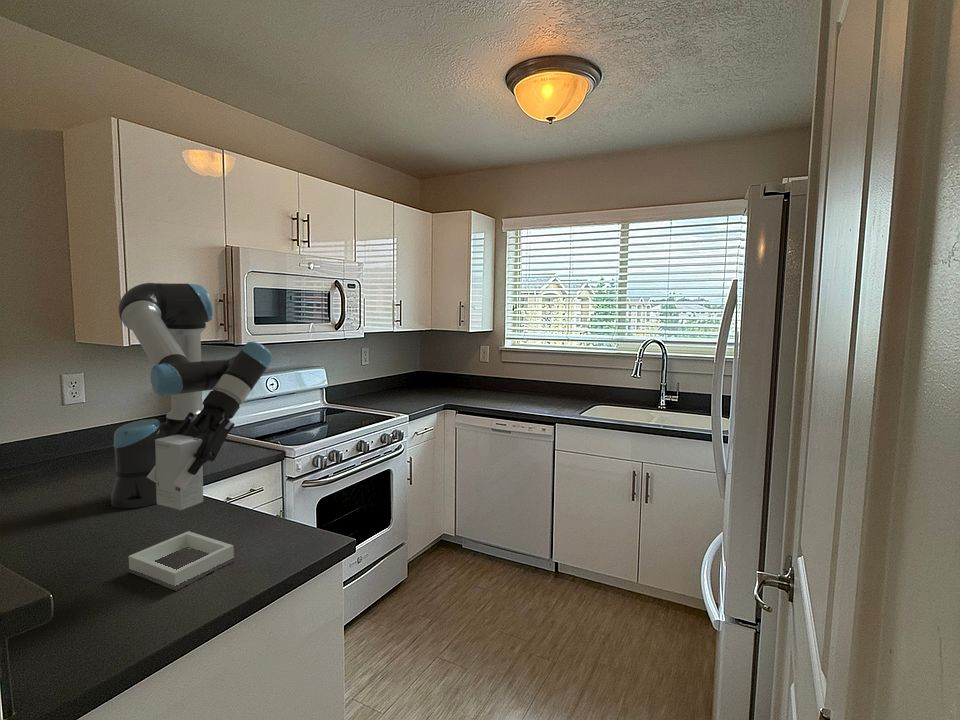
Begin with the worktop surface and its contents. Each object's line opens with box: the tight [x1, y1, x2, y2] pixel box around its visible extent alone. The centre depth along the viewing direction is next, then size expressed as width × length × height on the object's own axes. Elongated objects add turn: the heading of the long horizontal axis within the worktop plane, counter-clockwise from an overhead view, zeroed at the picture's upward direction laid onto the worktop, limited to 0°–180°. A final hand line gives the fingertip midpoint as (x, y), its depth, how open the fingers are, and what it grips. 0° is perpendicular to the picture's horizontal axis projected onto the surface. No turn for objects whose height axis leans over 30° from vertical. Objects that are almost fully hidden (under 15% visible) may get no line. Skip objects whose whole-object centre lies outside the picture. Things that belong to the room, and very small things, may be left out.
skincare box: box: [155, 435, 204, 511], centre depth 116 cm, size 8×6×15 cm
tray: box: [128, 530, 235, 586], centre depth 118 cm, size 16×14×4 cm
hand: (165, 483), depth 113 cm, fingers closed on skincare box, 8 cm apart
